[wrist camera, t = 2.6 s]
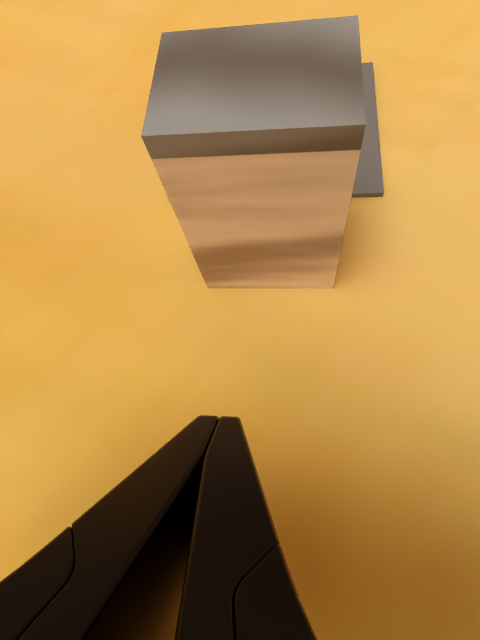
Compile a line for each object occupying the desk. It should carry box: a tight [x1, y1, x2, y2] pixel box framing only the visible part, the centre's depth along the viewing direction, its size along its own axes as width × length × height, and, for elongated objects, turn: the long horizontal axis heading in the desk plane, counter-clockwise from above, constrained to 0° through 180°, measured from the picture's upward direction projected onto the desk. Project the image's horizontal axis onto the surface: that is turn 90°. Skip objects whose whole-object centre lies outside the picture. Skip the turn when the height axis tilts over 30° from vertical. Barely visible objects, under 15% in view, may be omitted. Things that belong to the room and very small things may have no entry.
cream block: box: [141, 16, 366, 288], centre depth 19 cm, size 5×7×11 cm
